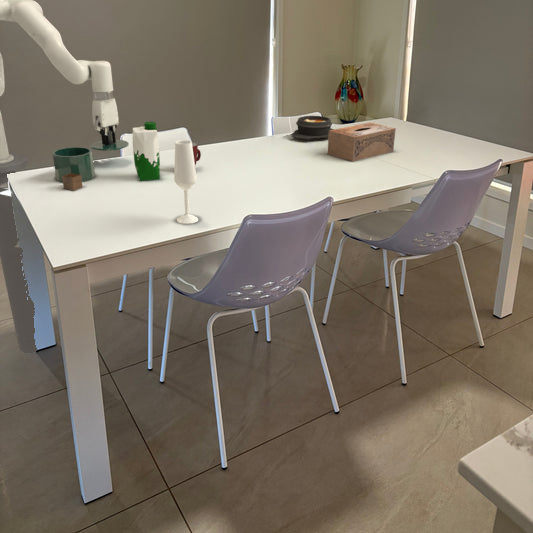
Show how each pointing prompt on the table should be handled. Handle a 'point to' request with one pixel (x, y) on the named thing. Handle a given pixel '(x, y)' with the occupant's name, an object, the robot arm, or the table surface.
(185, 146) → the champagne flute
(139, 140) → the milk carton
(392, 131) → the tissue box cover
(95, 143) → the lid
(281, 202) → the table surface
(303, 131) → the casserole
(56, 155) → the pot
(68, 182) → the block
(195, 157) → the mug
